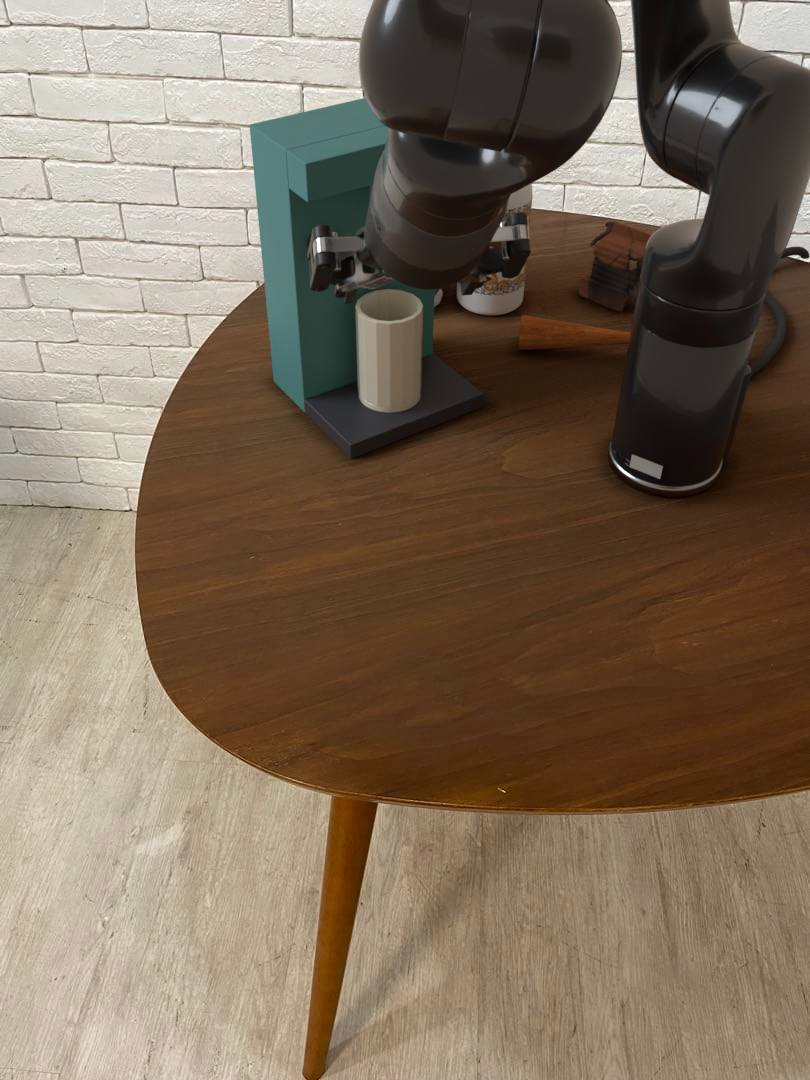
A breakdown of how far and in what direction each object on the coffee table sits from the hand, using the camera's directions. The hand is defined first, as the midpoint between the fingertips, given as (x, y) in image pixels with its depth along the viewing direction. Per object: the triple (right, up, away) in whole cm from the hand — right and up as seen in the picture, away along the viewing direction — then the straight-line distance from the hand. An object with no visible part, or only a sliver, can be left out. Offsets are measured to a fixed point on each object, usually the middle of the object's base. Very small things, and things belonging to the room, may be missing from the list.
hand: (406, 286), depth 76 cm
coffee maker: (-3, -4, +22) cm, 22 cm away
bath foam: (+9, +6, +34) cm, 35 cm away
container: (-2, -5, +18) cm, 19 cm away
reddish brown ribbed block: (+23, +7, +35) cm, 43 cm away
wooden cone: (+21, -1, +26) cm, 33 cm away
